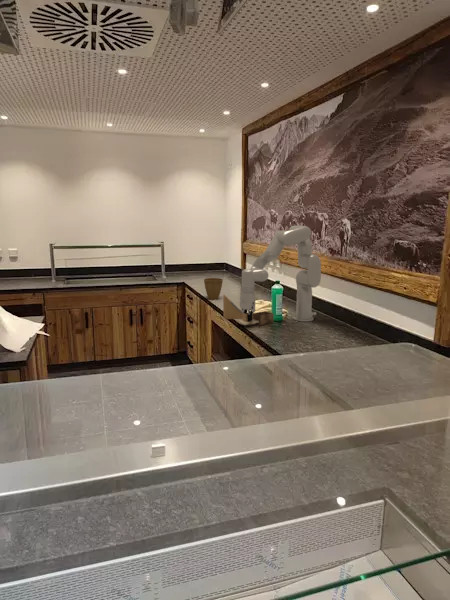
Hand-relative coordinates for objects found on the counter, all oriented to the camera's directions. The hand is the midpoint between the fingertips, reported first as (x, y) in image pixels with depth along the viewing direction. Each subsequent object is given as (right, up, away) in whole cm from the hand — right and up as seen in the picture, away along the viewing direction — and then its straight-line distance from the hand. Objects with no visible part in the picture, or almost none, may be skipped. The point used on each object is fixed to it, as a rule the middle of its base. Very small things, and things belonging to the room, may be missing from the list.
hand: (247, 319), depth 253 cm
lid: (0, -1, 0) cm, 1 cm away
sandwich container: (-7, 0, +22) cm, 23 cm away
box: (+10, -2, +7) cm, 12 cm away
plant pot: (-23, +12, +81) cm, 85 cm away
